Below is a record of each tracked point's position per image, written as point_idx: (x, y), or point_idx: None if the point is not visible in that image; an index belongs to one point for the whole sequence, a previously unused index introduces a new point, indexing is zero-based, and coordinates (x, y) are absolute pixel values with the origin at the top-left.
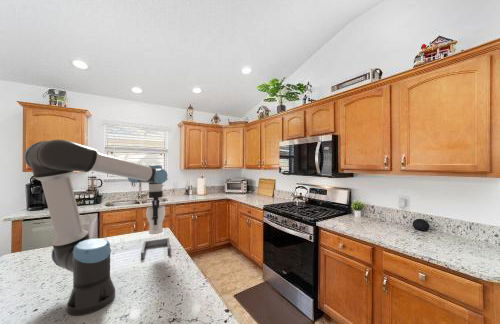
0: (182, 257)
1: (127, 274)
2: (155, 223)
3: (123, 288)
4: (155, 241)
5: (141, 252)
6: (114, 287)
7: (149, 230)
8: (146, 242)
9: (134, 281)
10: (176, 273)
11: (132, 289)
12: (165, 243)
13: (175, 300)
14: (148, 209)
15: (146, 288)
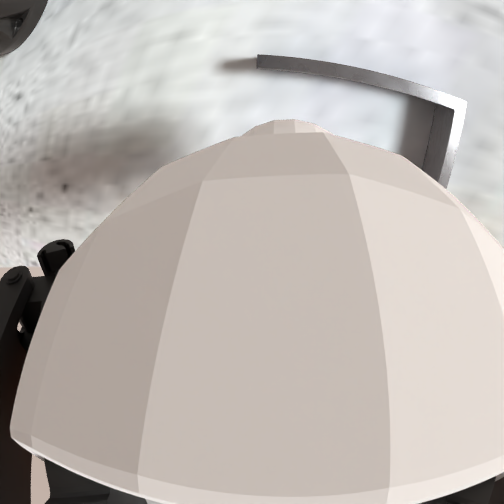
0: None
1: (117, 27)
2: None
3: (36, 54)
4: (439, 162)
5: (262, 57)
6: (4, 46)
7: (270, 132)
8: (451, 111)
9: (59, 74)
10: (76, 210)
11: (25, 85)
12: None
13: None
14: (30, 408)
15: (22, 126)
